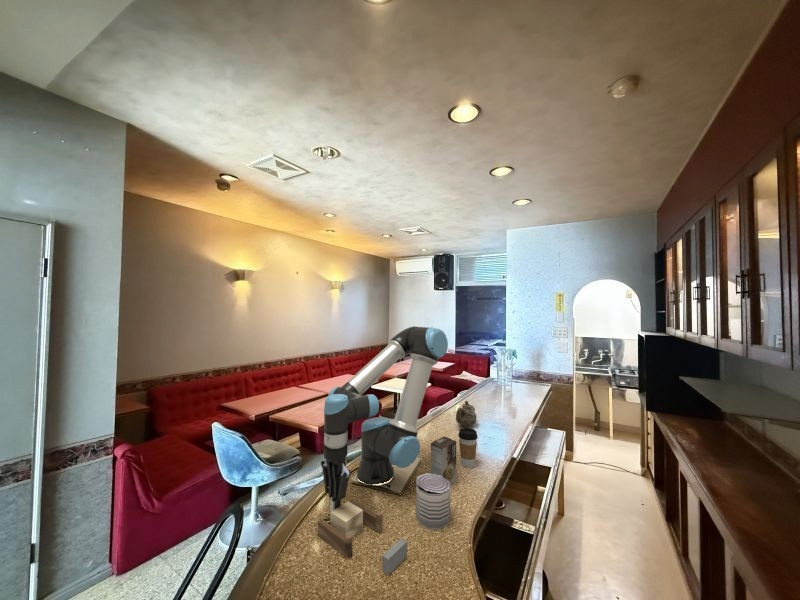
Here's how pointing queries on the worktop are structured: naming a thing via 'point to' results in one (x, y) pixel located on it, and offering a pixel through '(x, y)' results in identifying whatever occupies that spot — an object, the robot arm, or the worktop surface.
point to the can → (432, 501)
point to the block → (347, 519)
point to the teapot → (466, 415)
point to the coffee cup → (467, 446)
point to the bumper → (394, 556)
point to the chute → (345, 542)
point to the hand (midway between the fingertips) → (334, 517)
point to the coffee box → (444, 459)
